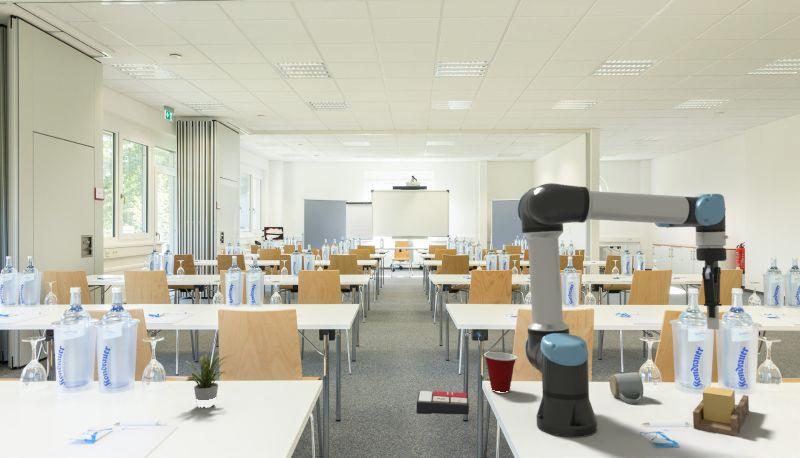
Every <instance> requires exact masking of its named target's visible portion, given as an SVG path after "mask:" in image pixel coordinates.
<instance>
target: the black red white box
mask: <svg viewBox="0 0 800 458" xmlns="http://www.w3.org/2000/svg"><path fill="white" fill-rule="evenodd" d="M415 411H416V414H418V415H432V414H436V415H437V414H440V415H469V414H470V402H469V394H467V393H466V392H457V391H456V392H455V391H454V392H453V391H439V390H436V391H427V390H425V391H424V390H420V391H419V392H418V395H417V399H416V410H415Z"/></svg>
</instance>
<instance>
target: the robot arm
mask: <svg viewBox="0 0 800 458" xmlns="http://www.w3.org/2000/svg"><path fill="white" fill-rule="evenodd" d="M516 209H517V215H518V216H517V217H518V218H519V220H520V222H521V234H522V236H524V237H525V238H526V239H527V245H528V246H527V248H528V263H529V264H528V266H529V281H530V282H529V283H530V284H529V285H530V300H531V301H530V302H531V303H530V304H531V319H532V320H531V322H530V323H529V324H528V326H527V338H526V340H525V344H524V351H525V355H526V358H527V361H528V362H529V363H530V365H531V366H532V367H534V369H536V370H537V371H539V372H540V373H541V380H542V381H541V382H542V383H541V385H542V386H541V387H542V397H541V400H540V404H539V406H538V407H539V408H538V410H537V414H536V426H537V428H538V429H539V430H541V431H542V432H545V433H547V434H550V435H554V436H559V437H567V438H568V437H571V438H580V437H588V436H591V435H594V434H595V433H596V432H597V431H598V420H597V417H596V414H595V412H594V408H593V407H592V403H591V400H590V395H589V394H590V387H589V385H590V384H589V383H590V382H589V381H590V380H589V350H588V345H587V342H586V341H585V339H583V338H582V337H581V336H578V335H576V334H575V335H573V334H570V326H569V325H568V324H567V323H566V322H565V321H564V314H563V313H564V312H563V298H562V296H563V295H562V281H561V267H560V266H561V264H560V262H561V261H560V248H559V243H560V242H559V238H560V237H561V235H562V234H563V233H564V224H568V223H581V224H583V223H585V222H587V220H594V221H595V220H597V221H613V222H614V221H615V222H629V223H630V222H631V223H632V222H633V223H648V224H649V223H650V224H651V223H652V224H655V226H656V227H659V228H667V229H668V228H690V227H691V228H695V246H696V247H697V248H696V251H695V252H696V253H695V255H696V256H695V257H696V260H697V261H699V262H704V267H702V273H701V276H702V280H703V281H702V282H703V291H704V292H703V293H704V303H703V306H704V307H706V320H707V321H706V323H707V326H706V327H707V330H708V329H709V330H720V313H719V312H720V307H722V303H721V275H722V270H721V266H720V267H719V262H725V261H726V260H727V248H725V246H727V239H729V236H728V235H726V227H727V226H726V203H725V197H724V195H723V194H721V193H703V194H702V193H701V194H697V195H695V196H680V195H666V194H665V195H664V194H647V193H645V194H644V193H629V192H616V191H613V192H611V191H597V190H596V191H593V190H590V189H589V188H588V187H587V186H579V185H578V186H577V185H569V184H562V183H561V184H560V183H551V182H550V183H544V184H543V183H542V184H541V185H538V186H536V187H532V188H530V189H528V190H527V191H525V192H524V193H523V195H522V196H521V197H520V199H519V200H518V203H517V208H516Z"/></svg>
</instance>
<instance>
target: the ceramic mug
mask: <svg viewBox="0 0 800 458" xmlns="http://www.w3.org/2000/svg"><path fill="white" fill-rule="evenodd" d="M609 388H610V392H611V394H612V396H613V397H614V398H616V399H621V400H622V401H623V402H625V403H627V404H631V405H638V404H639V403H640V402H641V401H642V398H643V397H644V384H643V381H642V377H641V375H640V374H639V373H638V372H637V371H636V372H635V371H634V372H626V373H623V372H622V373H615V374H611V376H610V377H609Z"/></svg>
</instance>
